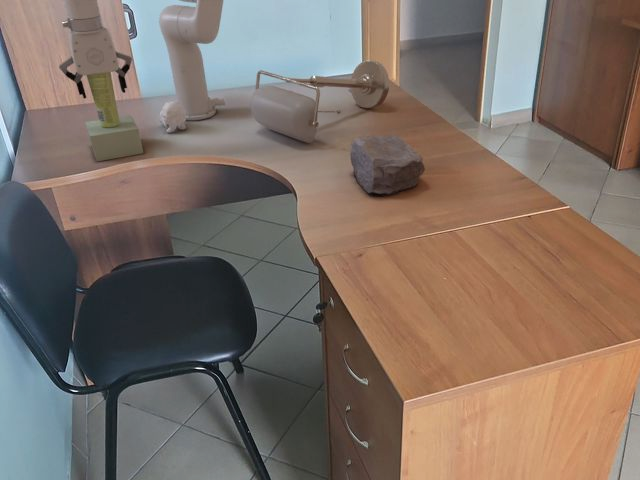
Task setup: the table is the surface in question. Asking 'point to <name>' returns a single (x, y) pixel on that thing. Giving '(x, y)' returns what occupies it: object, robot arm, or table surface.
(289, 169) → the table surface
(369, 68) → the lamp
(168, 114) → the white irregular rounded piece
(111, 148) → the block
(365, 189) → the stone block
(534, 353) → the table surface
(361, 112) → the table surface
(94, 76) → the tube
